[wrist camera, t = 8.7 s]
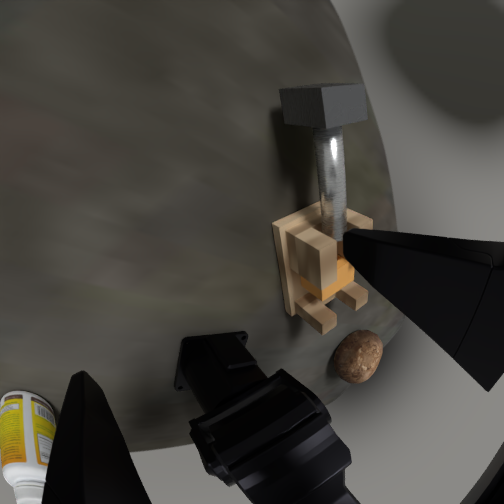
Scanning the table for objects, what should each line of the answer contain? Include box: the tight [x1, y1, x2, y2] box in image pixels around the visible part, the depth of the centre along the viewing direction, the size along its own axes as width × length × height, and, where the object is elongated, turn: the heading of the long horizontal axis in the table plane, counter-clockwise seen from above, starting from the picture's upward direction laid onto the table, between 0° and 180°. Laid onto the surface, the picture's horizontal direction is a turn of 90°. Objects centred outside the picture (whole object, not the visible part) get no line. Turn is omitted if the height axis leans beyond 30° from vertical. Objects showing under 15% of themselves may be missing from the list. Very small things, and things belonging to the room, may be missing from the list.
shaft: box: [279, 83, 368, 242], centre depth 20 cm, size 12×4×4 cm, turn 13°
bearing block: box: [272, 201, 373, 335], centre depth 26 cm, size 10×7×5 cm
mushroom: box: [334, 330, 382, 383], centre depth 39 cm, size 8×8×6 cm
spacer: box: [301, 254, 354, 302], centre depth 26 cm, size 2×4×3 cm, turn 103°
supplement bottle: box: [0, 391, 56, 504], centre depth 13 cm, size 6×6×10 cm
